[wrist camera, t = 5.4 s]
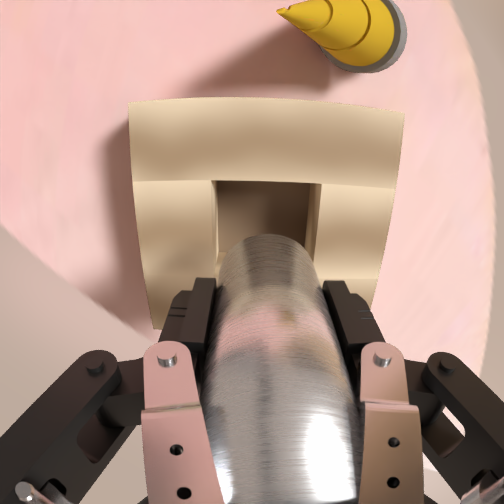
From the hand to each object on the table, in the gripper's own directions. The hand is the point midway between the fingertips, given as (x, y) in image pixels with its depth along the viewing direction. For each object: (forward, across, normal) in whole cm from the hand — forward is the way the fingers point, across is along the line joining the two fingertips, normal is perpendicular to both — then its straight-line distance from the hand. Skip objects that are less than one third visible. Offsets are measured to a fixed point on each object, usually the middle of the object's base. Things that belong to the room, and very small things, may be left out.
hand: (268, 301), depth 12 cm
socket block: (+10, 0, 0) cm, 10 cm away
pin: (+2, 0, 0) cm, 2 cm away
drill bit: (+10, -4, -11) cm, 16 cm away
